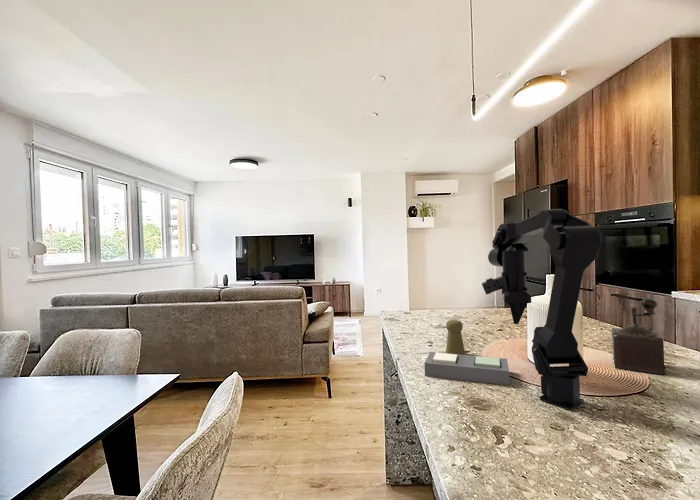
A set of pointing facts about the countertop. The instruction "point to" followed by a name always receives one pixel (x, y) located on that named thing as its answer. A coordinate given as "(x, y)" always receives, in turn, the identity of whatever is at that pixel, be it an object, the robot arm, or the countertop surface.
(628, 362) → the brown manual coffee grinder
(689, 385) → the countertop surface
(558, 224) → the robot arm
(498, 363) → the sage key
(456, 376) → the key panel
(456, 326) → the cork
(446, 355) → the cream key
